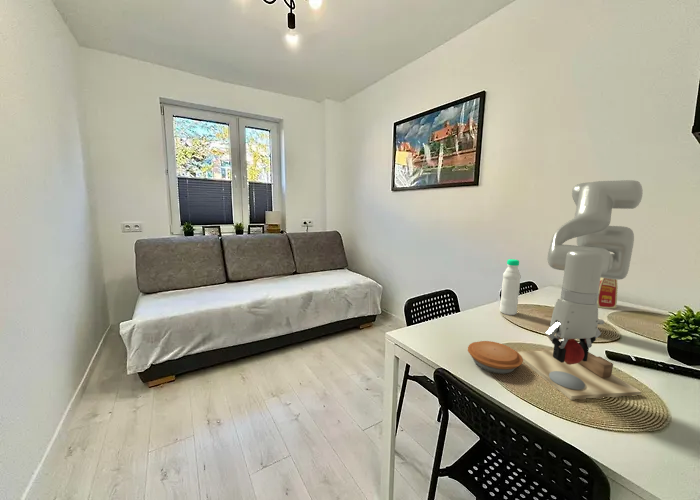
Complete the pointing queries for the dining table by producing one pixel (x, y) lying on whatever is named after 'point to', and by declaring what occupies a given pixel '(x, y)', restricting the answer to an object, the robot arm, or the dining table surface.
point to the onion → (573, 352)
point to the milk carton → (607, 293)
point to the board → (593, 383)
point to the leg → (597, 366)
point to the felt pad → (566, 380)
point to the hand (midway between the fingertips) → (569, 358)
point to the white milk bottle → (510, 288)
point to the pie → (494, 356)
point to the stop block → (608, 362)
